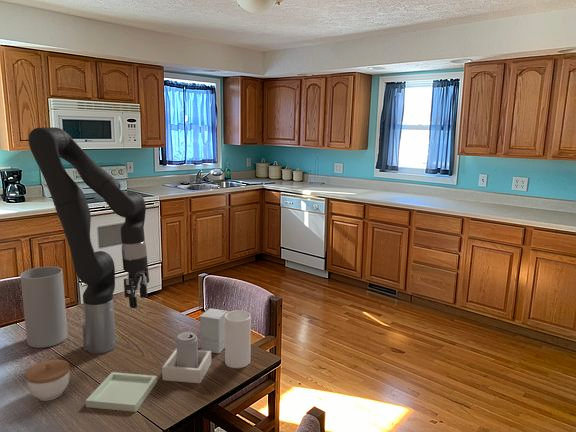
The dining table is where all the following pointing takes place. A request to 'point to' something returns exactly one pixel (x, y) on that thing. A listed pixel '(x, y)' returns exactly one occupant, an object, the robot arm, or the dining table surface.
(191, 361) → the beverage can
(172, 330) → the dining table surface
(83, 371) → the dining table surface
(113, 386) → the tray
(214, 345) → the supplement box
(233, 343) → the cup
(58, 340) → the cylinder vase
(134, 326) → the dining table surface
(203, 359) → the holder
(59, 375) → the lidded jar
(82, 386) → the dining table surface
